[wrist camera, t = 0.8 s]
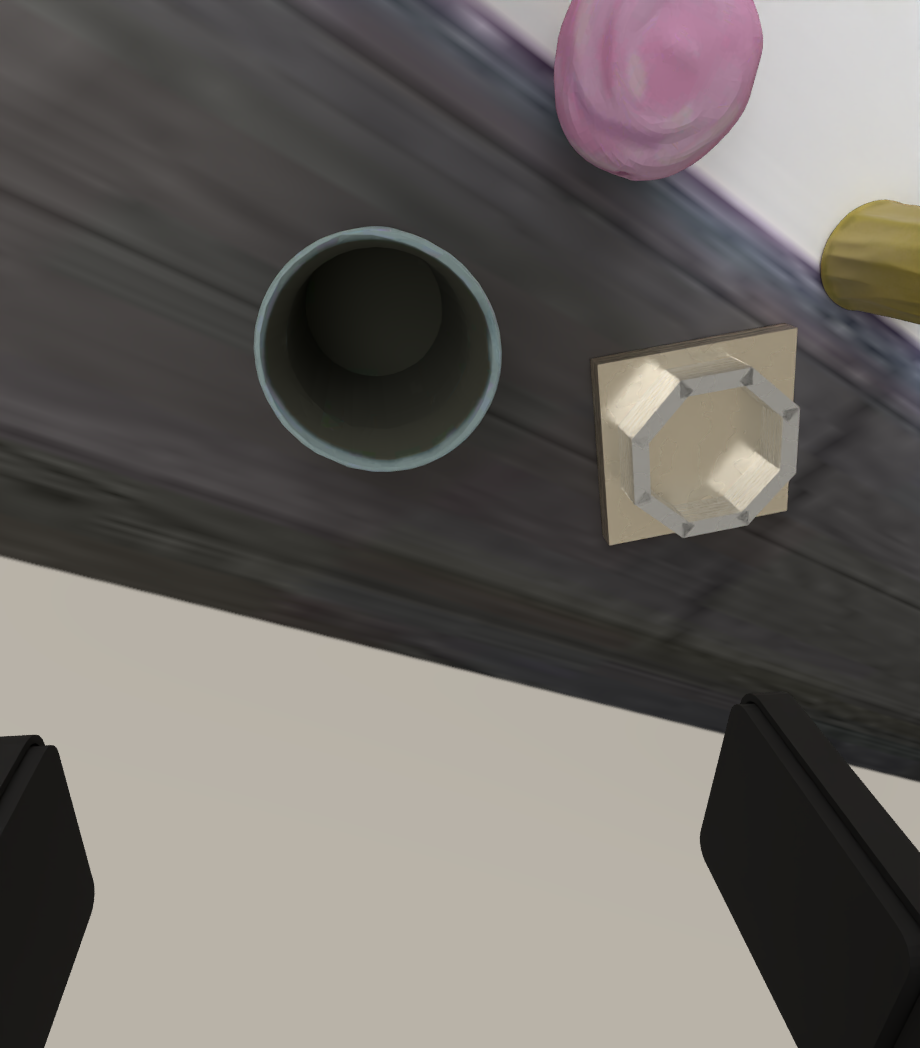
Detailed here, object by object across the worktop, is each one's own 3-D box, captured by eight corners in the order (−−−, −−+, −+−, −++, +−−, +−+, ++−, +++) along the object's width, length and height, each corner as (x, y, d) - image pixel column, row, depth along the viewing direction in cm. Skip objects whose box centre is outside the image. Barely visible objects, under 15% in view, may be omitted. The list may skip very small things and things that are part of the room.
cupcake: (540, -39, 35) (602, -108, 26) (710, -10, 36) (825, -67, 27) (513, 168, 39) (561, 169, 30) (669, 187, 40) (758, 193, 31)
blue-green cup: (485, 364, 43) (528, 430, 32) (323, 421, 43) (312, 505, 33) (430, 182, 39) (459, 189, 28) (249, 247, 39) (209, 279, 28)
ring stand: (589, 358, 44) (610, 375, 40) (784, 322, 44) (821, 336, 41) (602, 535, 49) (621, 564, 46) (775, 501, 50) (807, 527, 46)
